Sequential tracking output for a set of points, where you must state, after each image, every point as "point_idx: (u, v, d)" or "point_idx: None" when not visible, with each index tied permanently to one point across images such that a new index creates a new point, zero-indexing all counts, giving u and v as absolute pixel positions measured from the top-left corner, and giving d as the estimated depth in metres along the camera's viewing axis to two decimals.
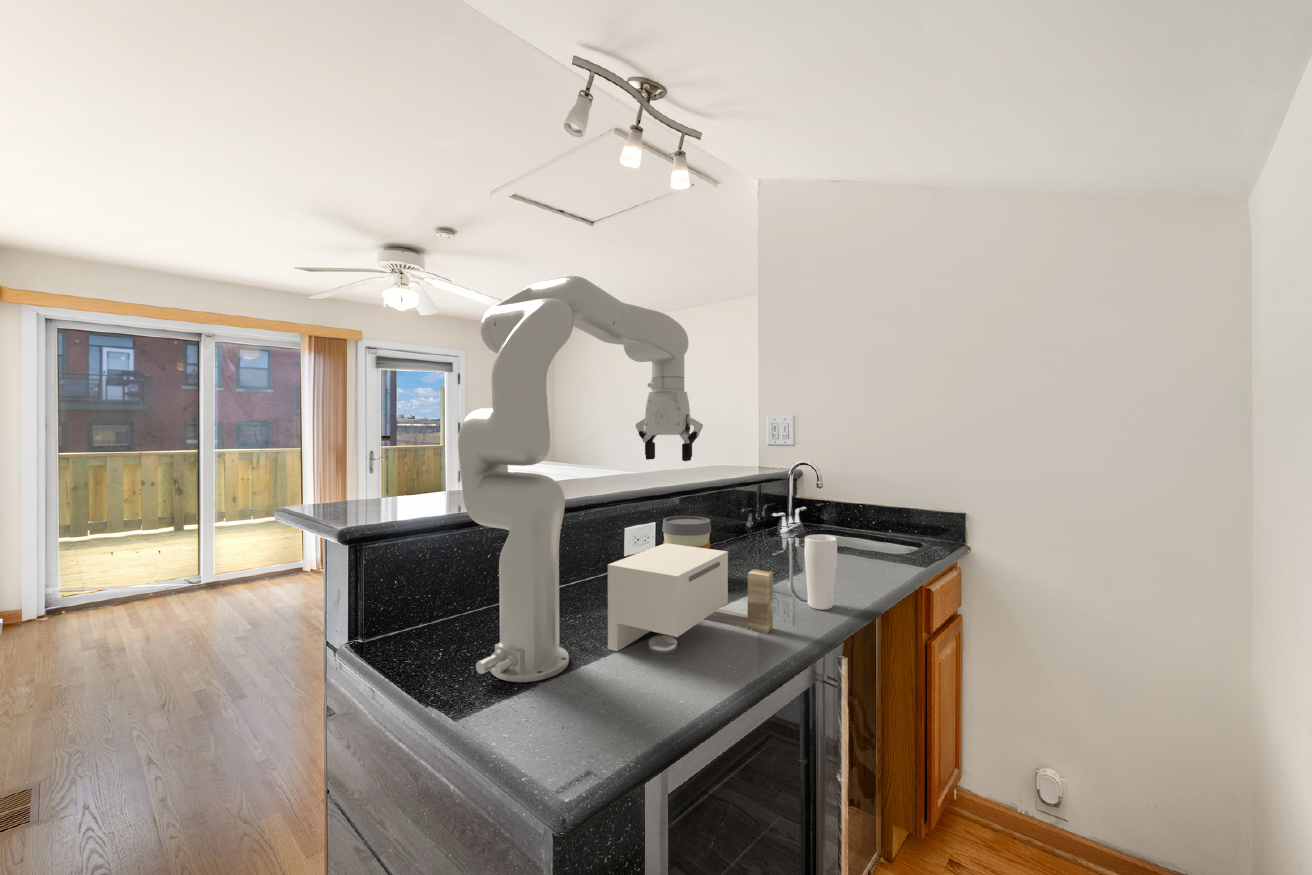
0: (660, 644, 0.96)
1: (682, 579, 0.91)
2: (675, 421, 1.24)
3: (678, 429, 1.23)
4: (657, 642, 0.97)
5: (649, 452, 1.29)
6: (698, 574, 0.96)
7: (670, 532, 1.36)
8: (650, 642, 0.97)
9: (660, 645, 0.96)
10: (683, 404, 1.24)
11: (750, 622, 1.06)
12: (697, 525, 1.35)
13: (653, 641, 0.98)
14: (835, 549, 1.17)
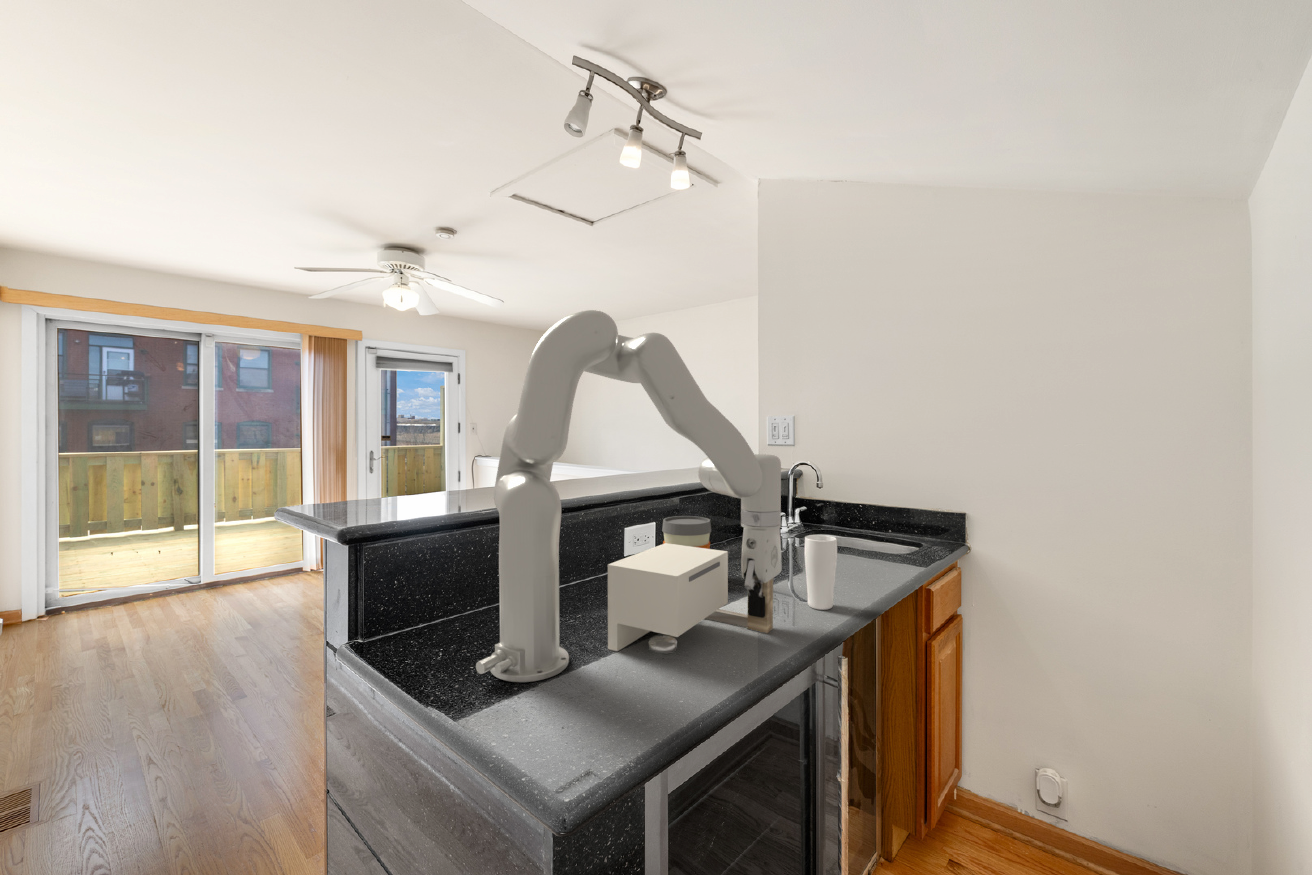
0: (660, 644, 0.96)
1: (682, 579, 0.91)
2: (779, 558, 1.08)
3: (780, 567, 1.08)
4: (657, 642, 0.97)
5: None
6: (698, 574, 0.96)
7: (670, 532, 1.36)
8: (650, 642, 0.97)
9: (660, 645, 0.96)
10: None
11: (750, 622, 1.06)
12: (697, 525, 1.35)
13: (653, 641, 0.98)
14: (835, 549, 1.17)
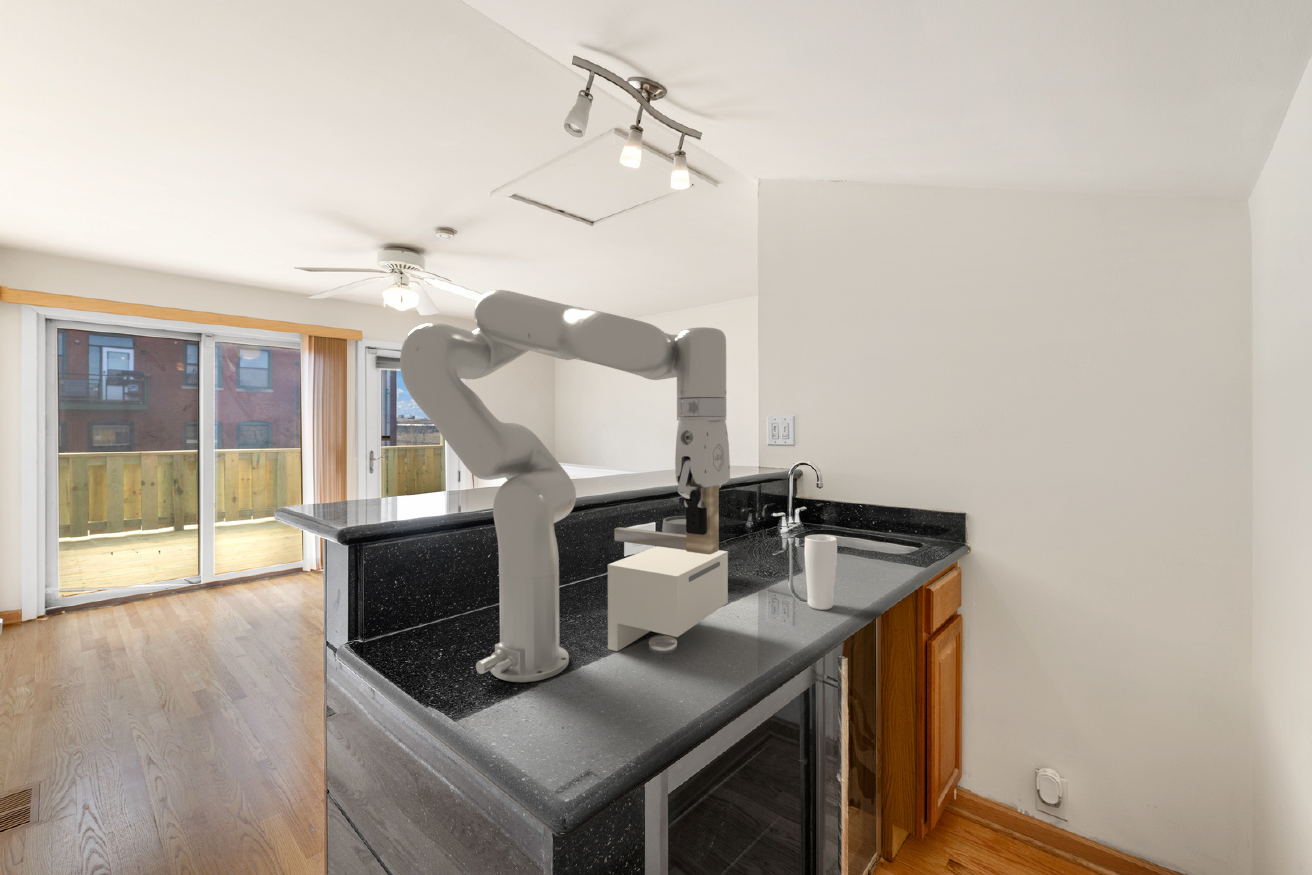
0: (660, 644, 0.96)
1: (682, 579, 0.91)
2: (727, 463, 0.85)
3: (729, 474, 0.86)
4: (657, 642, 0.97)
5: None
6: (698, 574, 0.96)
7: (670, 532, 1.36)
8: (650, 642, 0.97)
9: (661, 645, 0.96)
10: None
11: (689, 542, 0.84)
12: None
13: (653, 641, 0.98)
14: (835, 549, 1.17)
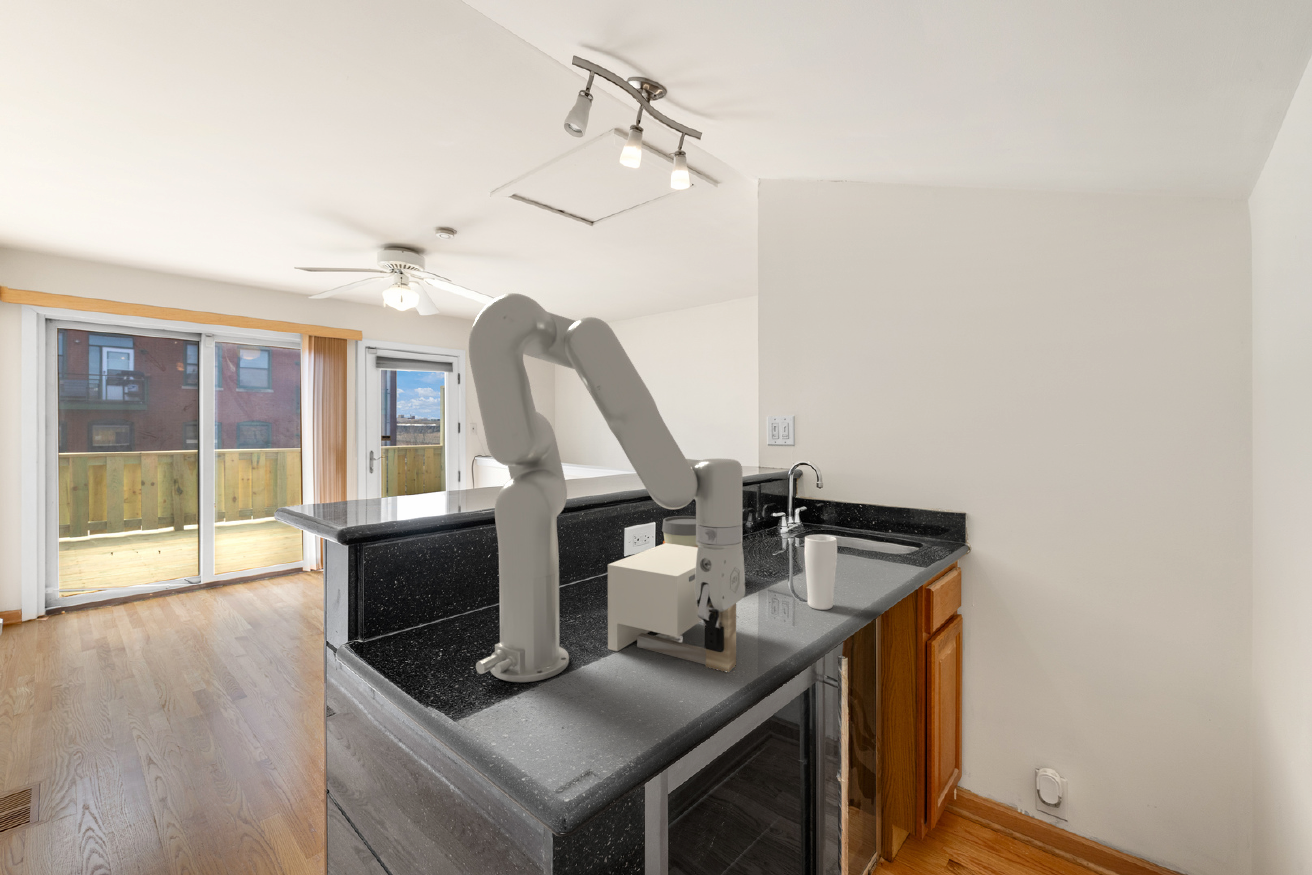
0: None
1: (682, 579, 0.91)
2: (742, 581, 0.91)
3: (744, 591, 0.92)
4: (664, 638, 0.99)
5: None
6: None
7: (670, 532, 1.36)
8: None
9: None
10: None
11: (709, 659, 0.90)
12: None
13: (660, 637, 0.99)
14: (835, 549, 1.17)
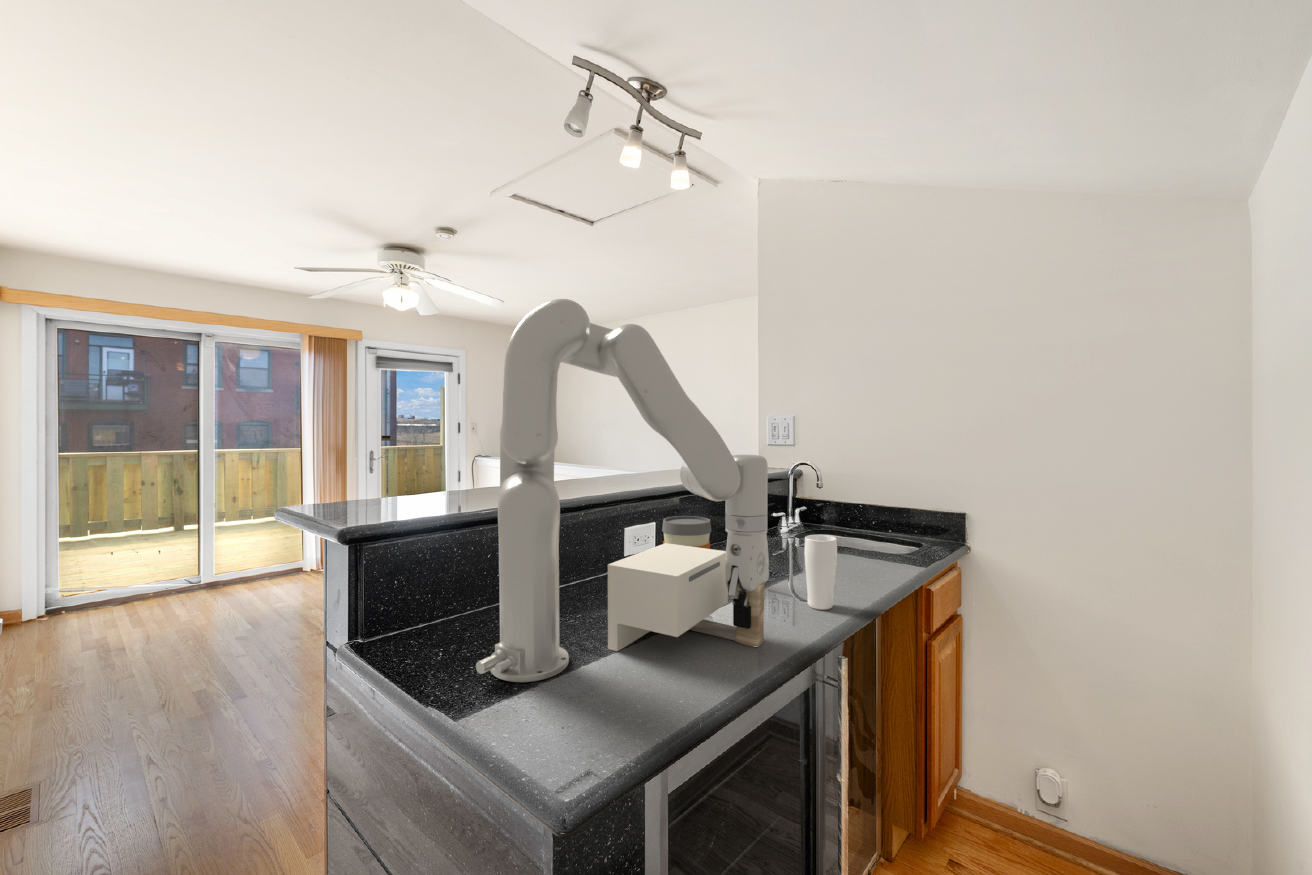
0: None
1: (682, 579, 0.91)
2: (767, 565, 1.01)
3: (768, 574, 1.02)
4: None
5: None
6: (698, 574, 0.96)
7: (670, 532, 1.36)
8: None
9: None
10: None
11: (739, 635, 0.99)
12: (697, 525, 1.35)
13: None
14: (835, 549, 1.17)
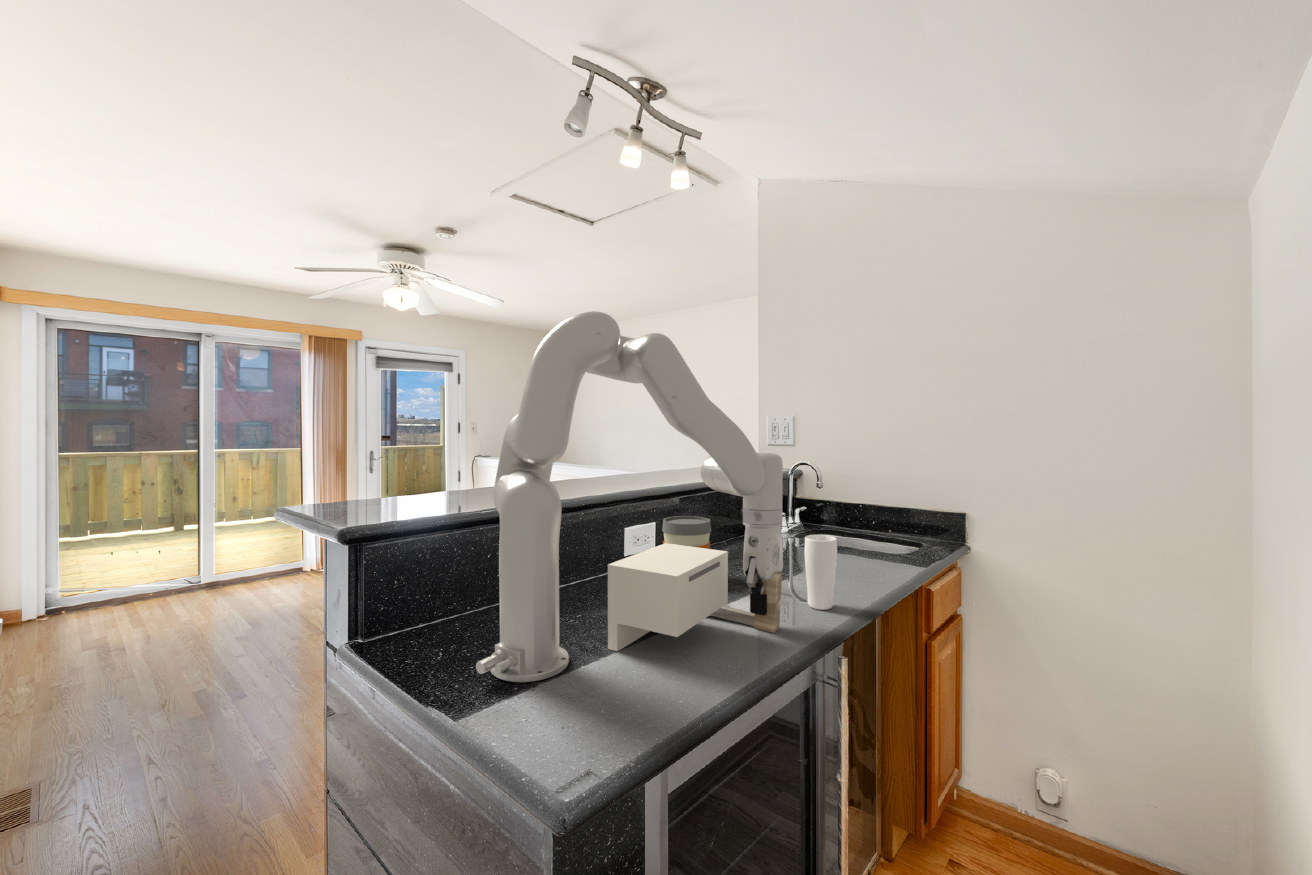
0: None
1: (682, 579, 0.91)
2: (781, 556, 1.08)
3: (782, 565, 1.09)
4: None
5: None
6: (698, 574, 0.96)
7: (670, 532, 1.36)
8: None
9: None
10: None
11: (757, 621, 1.06)
12: (697, 525, 1.35)
13: None
14: (835, 549, 1.17)
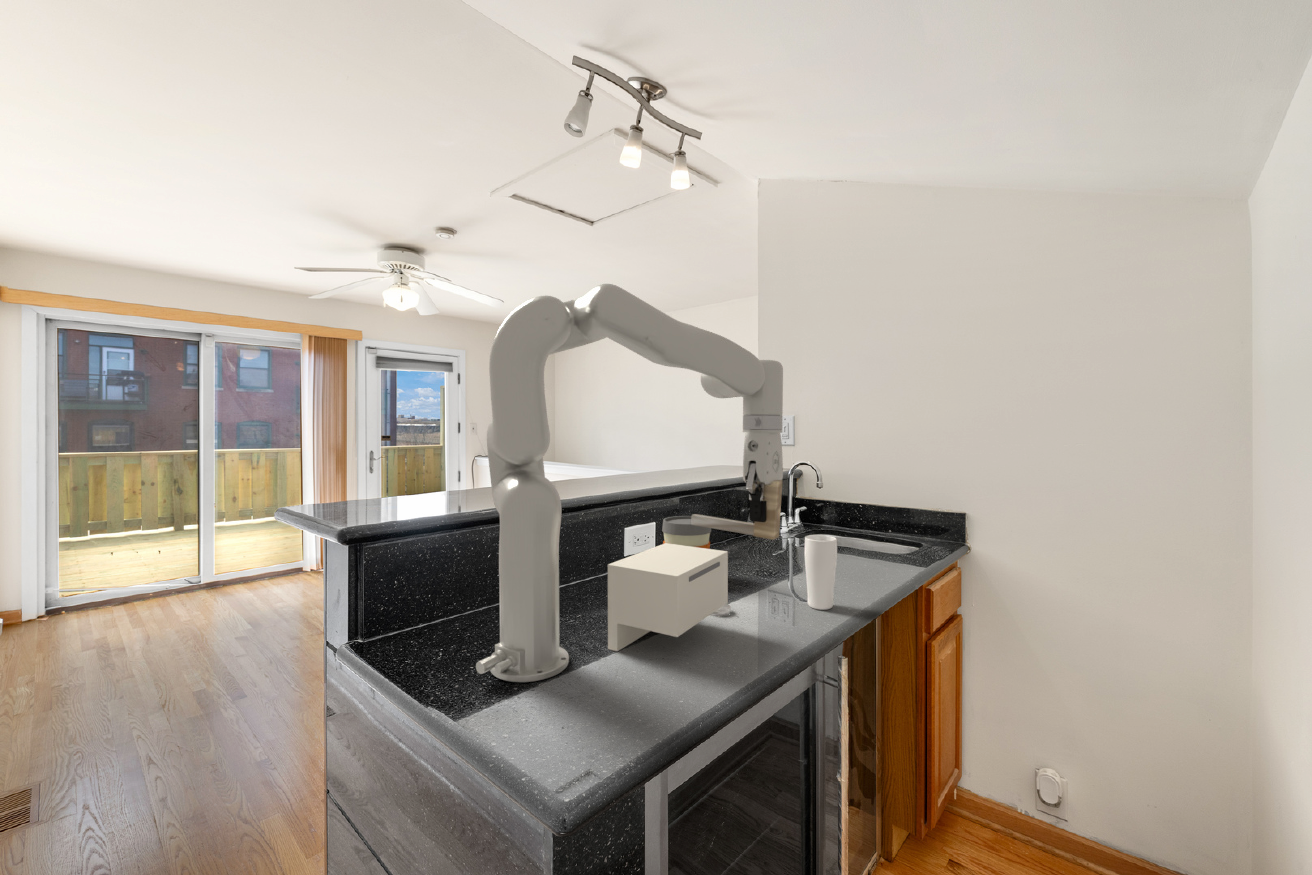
0: None
1: (682, 579, 0.91)
2: (781, 466, 1.08)
3: (782, 475, 1.09)
4: None
5: None
6: (698, 574, 0.96)
7: (670, 532, 1.36)
8: None
9: None
10: None
11: (757, 529, 1.06)
12: None
13: None
14: (835, 549, 1.17)
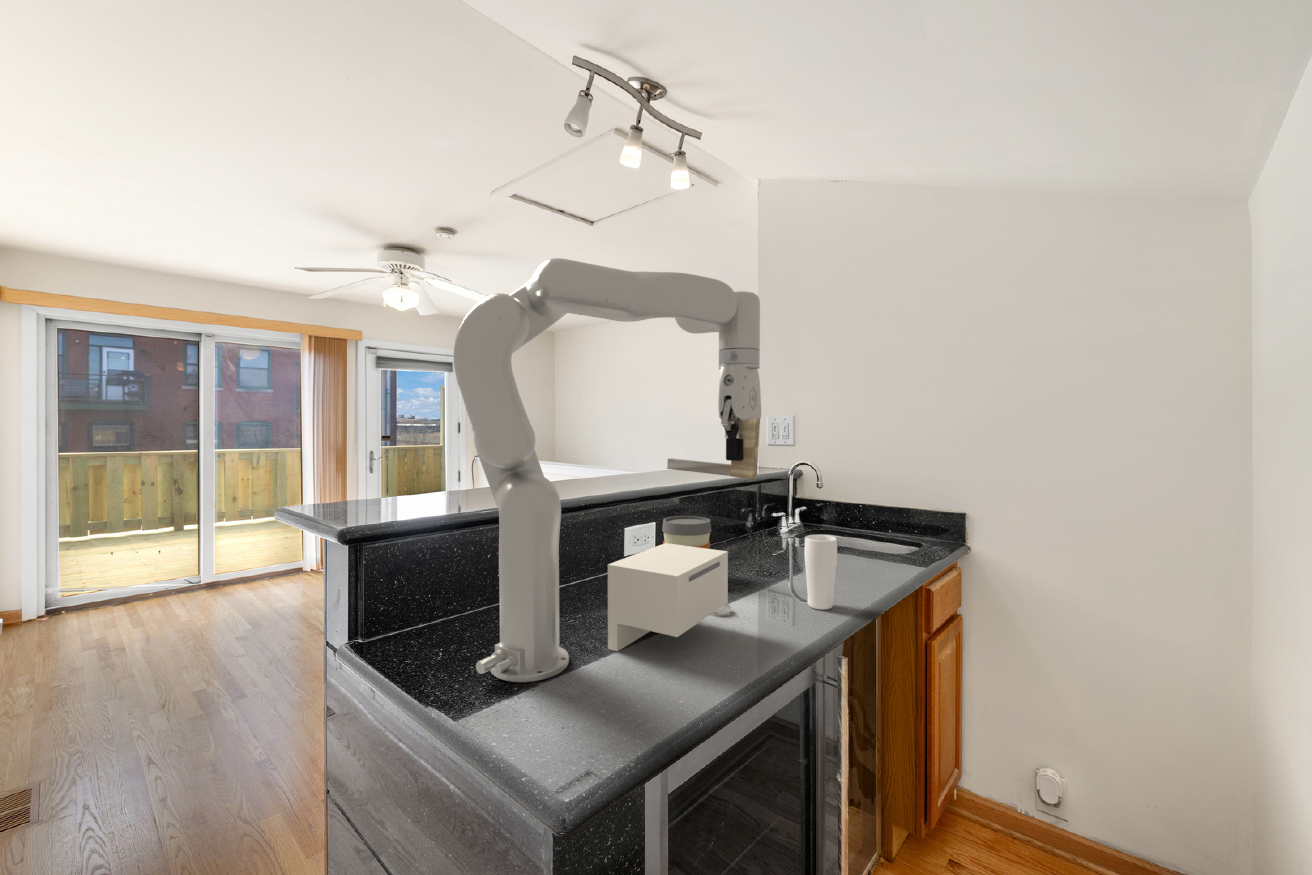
0: None
1: (682, 579, 0.91)
2: (759, 405, 1.04)
3: (760, 414, 1.05)
4: None
5: None
6: (698, 574, 0.96)
7: (670, 532, 1.36)
8: None
9: None
10: None
11: (733, 469, 1.02)
12: (697, 525, 1.35)
13: None
14: (835, 549, 1.17)
